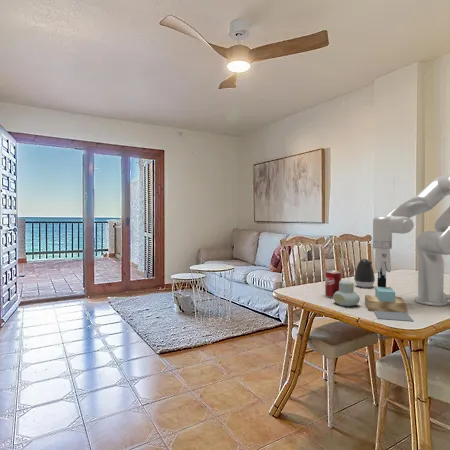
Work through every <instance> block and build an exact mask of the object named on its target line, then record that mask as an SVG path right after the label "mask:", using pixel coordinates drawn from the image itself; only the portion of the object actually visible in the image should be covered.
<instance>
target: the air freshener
mask: <svg viewBox="0 0 450 450" xmlns="http://www.w3.org/2000/svg"><path fill="white" fill-rule="evenodd" d="M354 288H355V287H354V282H353V281H351V280H350V281H349V280H341V281H340V282H339V291H337V292H335V293H334V295H333V298H332V299H333V301H334V302H335V303H336V304H338V305H339V306H340V307H354V306H356V305H358V304H359V303H360V301H361V297H360V295H359V294H358V293H356V292H355V291H354Z"/></svg>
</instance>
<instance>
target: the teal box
mask: <svg viewBox="0 0 450 450" xmlns="http://www.w3.org/2000/svg"><path fill="white" fill-rule="evenodd" d="M374 290H375V291H374V296H376V298H377V299H378V301H384V302H395V297H396V292H395V290H394V289H393V288H392V287H391V286H388V287H387V286H386V287H378V286H375V289H374Z"/></svg>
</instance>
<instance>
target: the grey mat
mask: <svg viewBox="0 0 450 450" xmlns="http://www.w3.org/2000/svg"><path fill="white" fill-rule="evenodd" d="M373 313H374V315H375V317H376V318H377V320H385V321H386V320H388V321H389V320H390V321H401V322H413V321H414V319H413V318H412V317H411V316H410V315H409V314H408V312H407V313H403V312H388V311H373Z"/></svg>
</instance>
